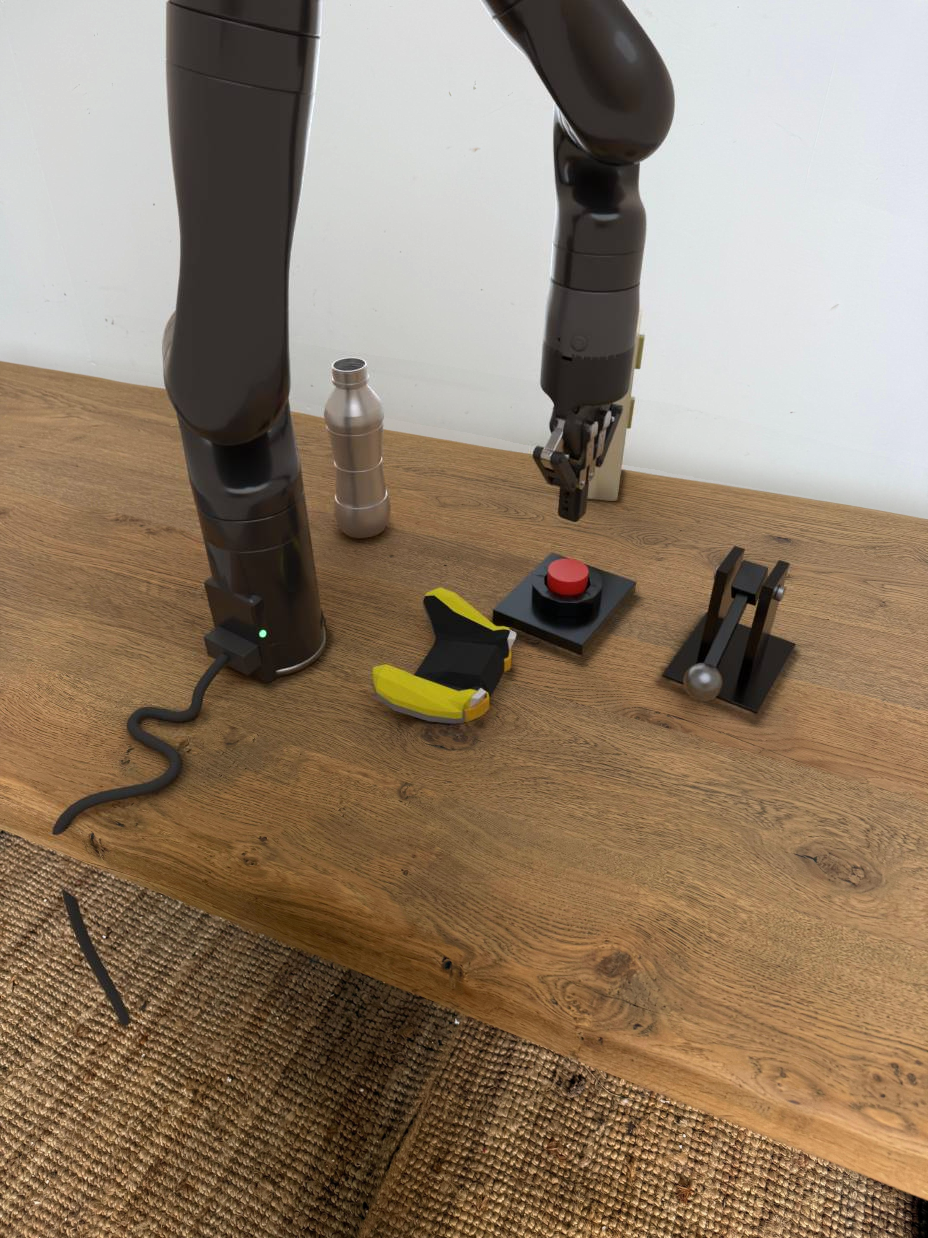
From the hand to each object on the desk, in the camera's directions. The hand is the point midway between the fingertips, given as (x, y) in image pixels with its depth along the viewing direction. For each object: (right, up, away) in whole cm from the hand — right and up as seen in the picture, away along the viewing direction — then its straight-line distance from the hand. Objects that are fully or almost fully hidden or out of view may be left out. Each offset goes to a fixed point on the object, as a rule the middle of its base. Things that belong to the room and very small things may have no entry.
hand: (571, 516), depth 81 cm
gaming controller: (-11, -16, 0) cm, 19 cm away
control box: (0, -9, +7) cm, 12 cm away
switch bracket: (+15, -14, +1) cm, 21 cm away
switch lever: (+13, -11, -5) cm, 18 cm away
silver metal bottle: (-22, +1, +20) cm, 29 cm away
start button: (0, -6, +5) cm, 8 cm away
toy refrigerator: (+7, +7, +28) cm, 29 cm away
